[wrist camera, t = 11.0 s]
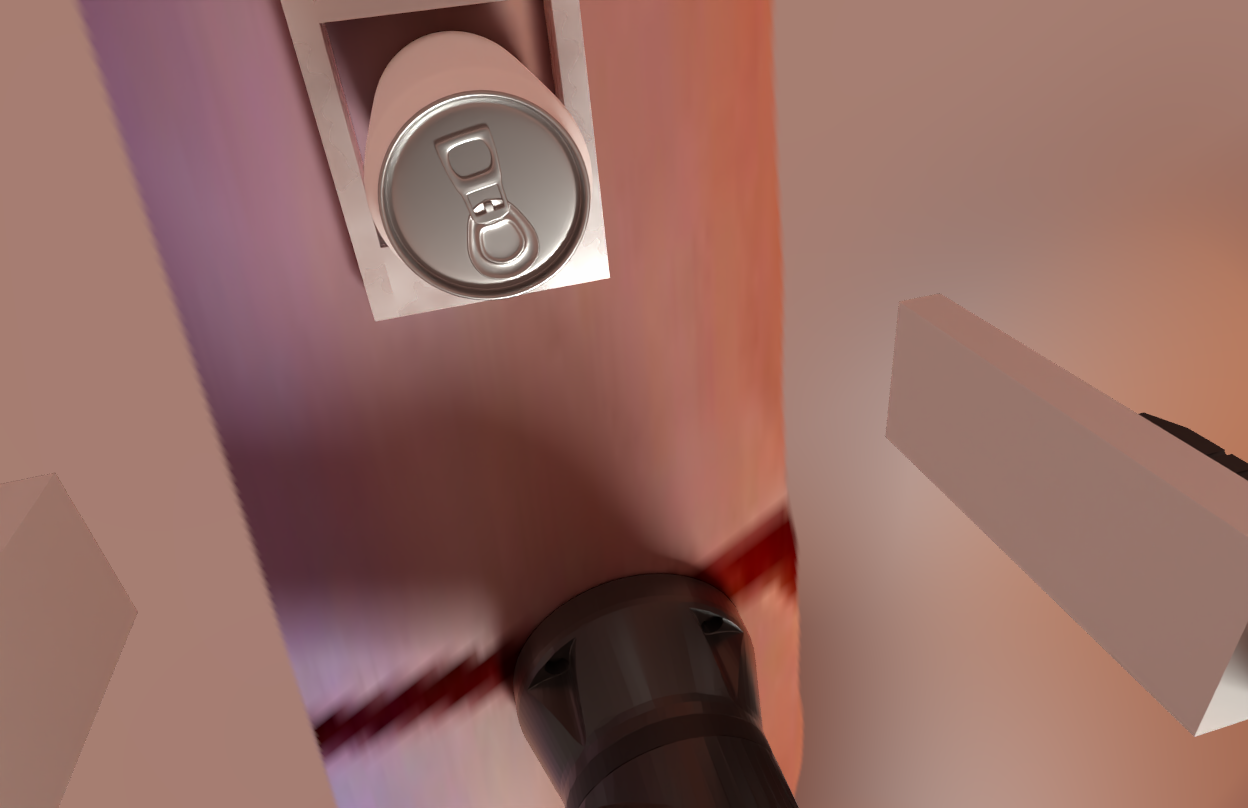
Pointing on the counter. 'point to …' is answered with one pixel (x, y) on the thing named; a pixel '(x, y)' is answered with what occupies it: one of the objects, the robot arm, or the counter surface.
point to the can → (474, 168)
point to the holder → (382, 271)
